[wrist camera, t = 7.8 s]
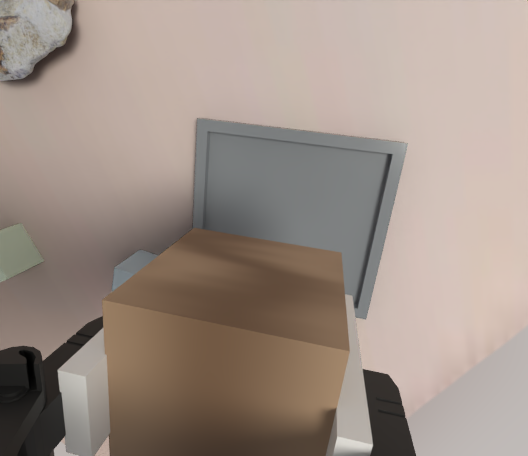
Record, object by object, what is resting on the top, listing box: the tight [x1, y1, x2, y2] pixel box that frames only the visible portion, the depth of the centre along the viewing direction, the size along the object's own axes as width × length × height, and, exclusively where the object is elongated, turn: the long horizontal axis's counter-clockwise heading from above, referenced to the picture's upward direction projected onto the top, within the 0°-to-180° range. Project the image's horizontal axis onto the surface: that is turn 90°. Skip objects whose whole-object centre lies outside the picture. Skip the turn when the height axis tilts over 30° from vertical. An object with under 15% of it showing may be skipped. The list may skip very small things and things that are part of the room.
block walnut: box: [102, 228, 350, 456], centre depth 12 cm, size 6×6×6 cm
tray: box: [193, 118, 408, 319], centre depth 26 cm, size 15×14×1 cm
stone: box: [0, 0, 74, 81], centre depth 24 cm, size 10×7×3 cm
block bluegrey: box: [112, 250, 159, 292], centre depth 29 cm, size 5×5×4 cm
